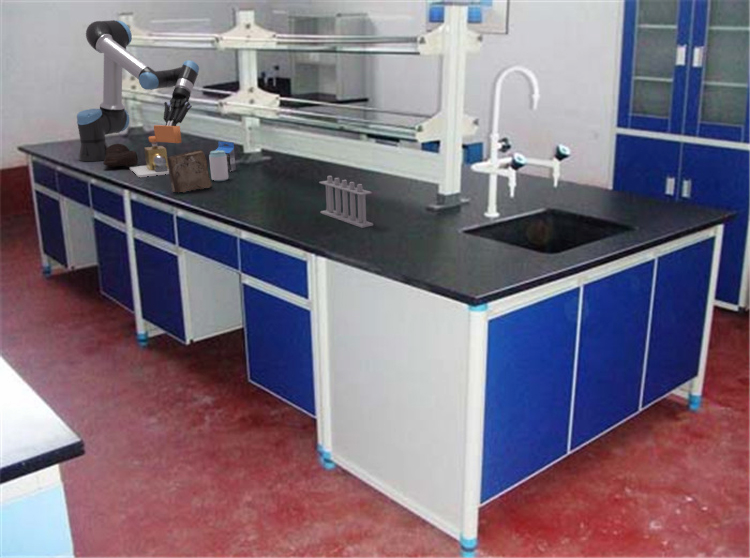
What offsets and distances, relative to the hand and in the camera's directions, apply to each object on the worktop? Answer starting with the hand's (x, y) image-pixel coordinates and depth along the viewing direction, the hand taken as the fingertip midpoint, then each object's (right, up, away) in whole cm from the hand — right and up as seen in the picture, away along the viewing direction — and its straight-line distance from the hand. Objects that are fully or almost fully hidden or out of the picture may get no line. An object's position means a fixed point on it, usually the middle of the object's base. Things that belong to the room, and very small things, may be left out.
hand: (167, 134), depth 341 cm
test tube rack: (+82, -44, -84) cm, 125 cm away
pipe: (-25, -12, +16) cm, 32 cm away
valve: (-6, -15, +6) cm, 17 cm away
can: (+27, -22, -18) cm, 39 cm away
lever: (-1, -3, -1) cm, 4 cm away
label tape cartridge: (+25, -16, +2) cm, 30 cm away
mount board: (-6, -15, +6) cm, 17 cm away
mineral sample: (+19, -29, -35) cm, 49 cm away
